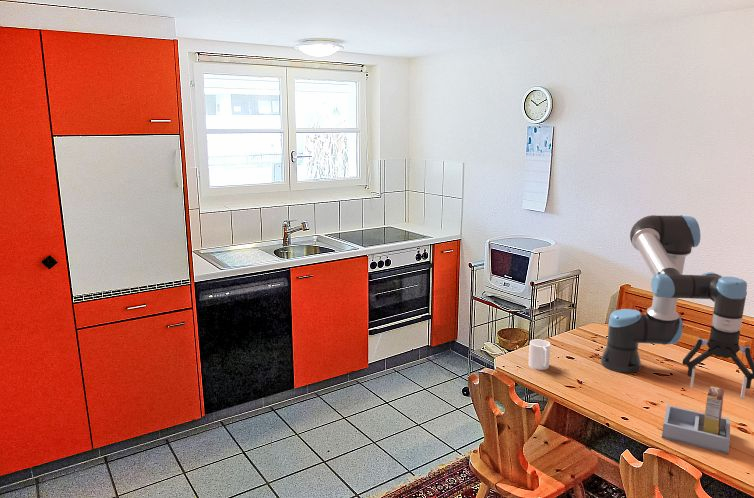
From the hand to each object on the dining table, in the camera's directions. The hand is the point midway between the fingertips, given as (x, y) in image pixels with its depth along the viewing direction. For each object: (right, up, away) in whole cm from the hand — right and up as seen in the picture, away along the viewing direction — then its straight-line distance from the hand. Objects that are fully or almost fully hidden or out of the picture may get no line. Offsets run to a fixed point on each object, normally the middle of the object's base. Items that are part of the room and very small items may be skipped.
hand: (716, 391), depth 172 cm
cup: (-38, -5, +56) cm, 68 cm away
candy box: (0, -15, +3) cm, 16 cm away
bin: (-4, -15, +5) cm, 17 cm away
